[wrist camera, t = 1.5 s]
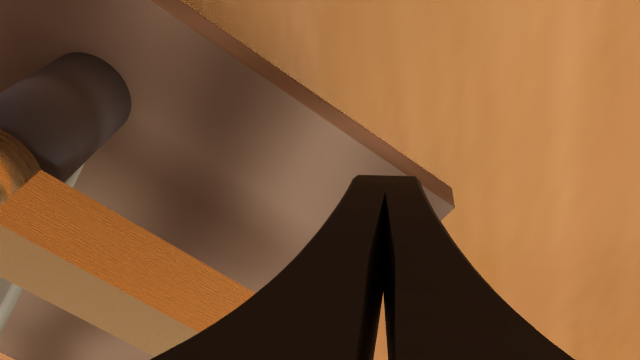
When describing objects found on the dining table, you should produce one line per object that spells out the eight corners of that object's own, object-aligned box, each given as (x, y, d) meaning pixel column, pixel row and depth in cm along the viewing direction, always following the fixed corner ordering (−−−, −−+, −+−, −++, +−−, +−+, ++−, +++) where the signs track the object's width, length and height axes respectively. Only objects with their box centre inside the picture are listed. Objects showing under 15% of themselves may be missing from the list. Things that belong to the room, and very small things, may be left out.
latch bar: (-67, 176, 13) (-134, 222, 12) (-46, 101, 12) (-119, 141, 10) (364, 411, 16) (359, 475, 15) (418, 371, 15) (421, 438, 13)
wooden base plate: (-85, 283, 25) (-257, 437, 19) (31, -102, 15) (-256, -66, 9) (202, 425, 29) (142, 599, 22) (451, 188, 19) (481, 375, 12)
